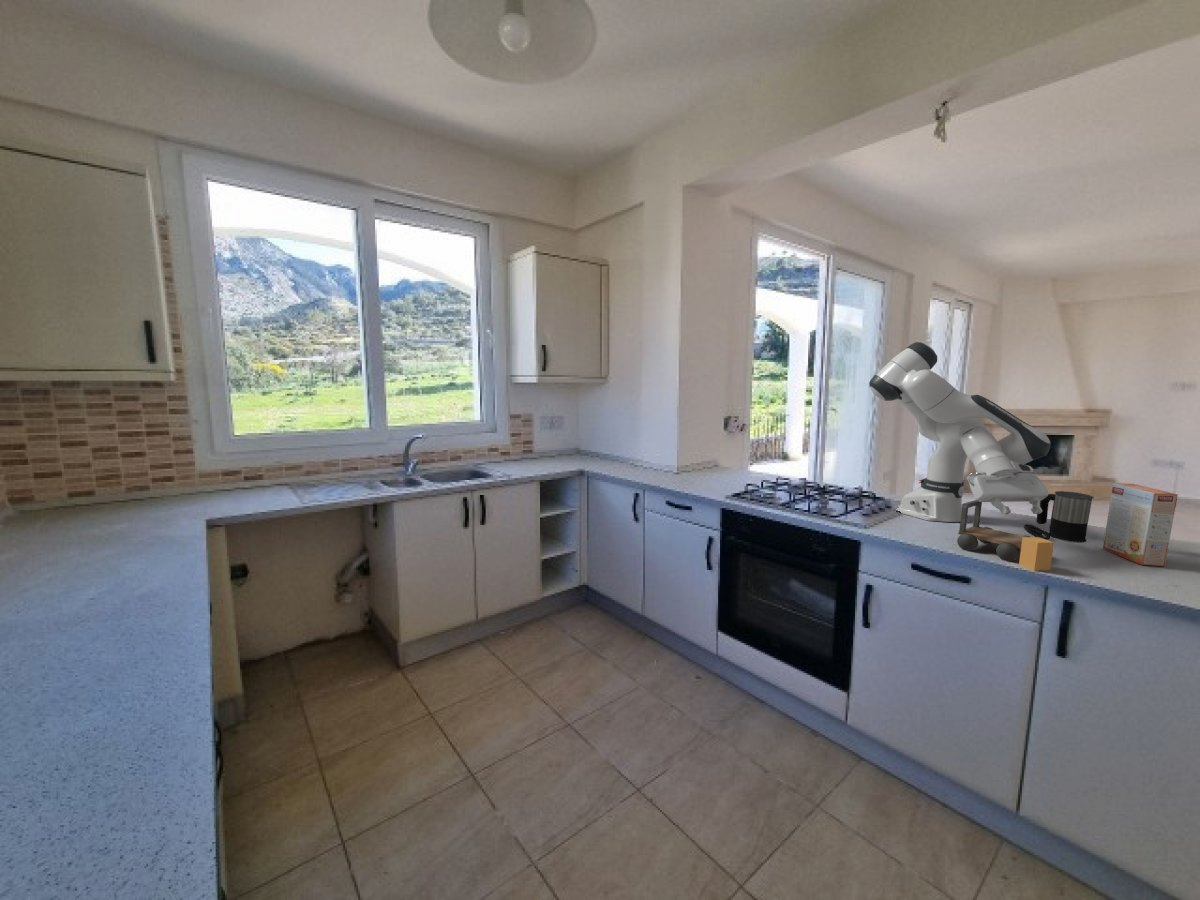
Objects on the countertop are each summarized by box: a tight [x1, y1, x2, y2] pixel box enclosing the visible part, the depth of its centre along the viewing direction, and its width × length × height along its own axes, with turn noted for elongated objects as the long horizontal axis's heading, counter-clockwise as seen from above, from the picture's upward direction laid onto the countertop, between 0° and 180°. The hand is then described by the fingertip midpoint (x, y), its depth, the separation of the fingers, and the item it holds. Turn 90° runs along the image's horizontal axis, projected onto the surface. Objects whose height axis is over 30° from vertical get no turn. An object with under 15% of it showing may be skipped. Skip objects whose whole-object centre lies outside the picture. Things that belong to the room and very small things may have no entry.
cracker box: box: [1102, 482, 1179, 567], centre depth 143 cm, size 14×6×21 cm, turn 168°
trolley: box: [956, 499, 1031, 562], centre depth 148 cm, size 16×14×14 cm
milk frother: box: [1023, 490, 1094, 543], centre depth 161 cm, size 14×16×15 cm
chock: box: [1018, 536, 1055, 572], centre depth 136 cm, size 5×5×8 cm
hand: (1022, 513), depth 140 cm, fingers open, 8 cm apart
